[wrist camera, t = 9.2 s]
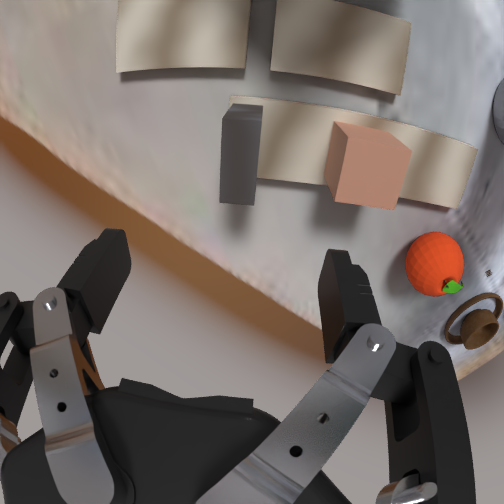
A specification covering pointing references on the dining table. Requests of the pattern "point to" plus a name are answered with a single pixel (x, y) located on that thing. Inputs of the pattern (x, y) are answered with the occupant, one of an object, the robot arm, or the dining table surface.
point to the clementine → (435, 264)
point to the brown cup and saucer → (476, 322)
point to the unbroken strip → (316, 150)
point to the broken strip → (284, 40)
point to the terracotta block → (365, 166)
